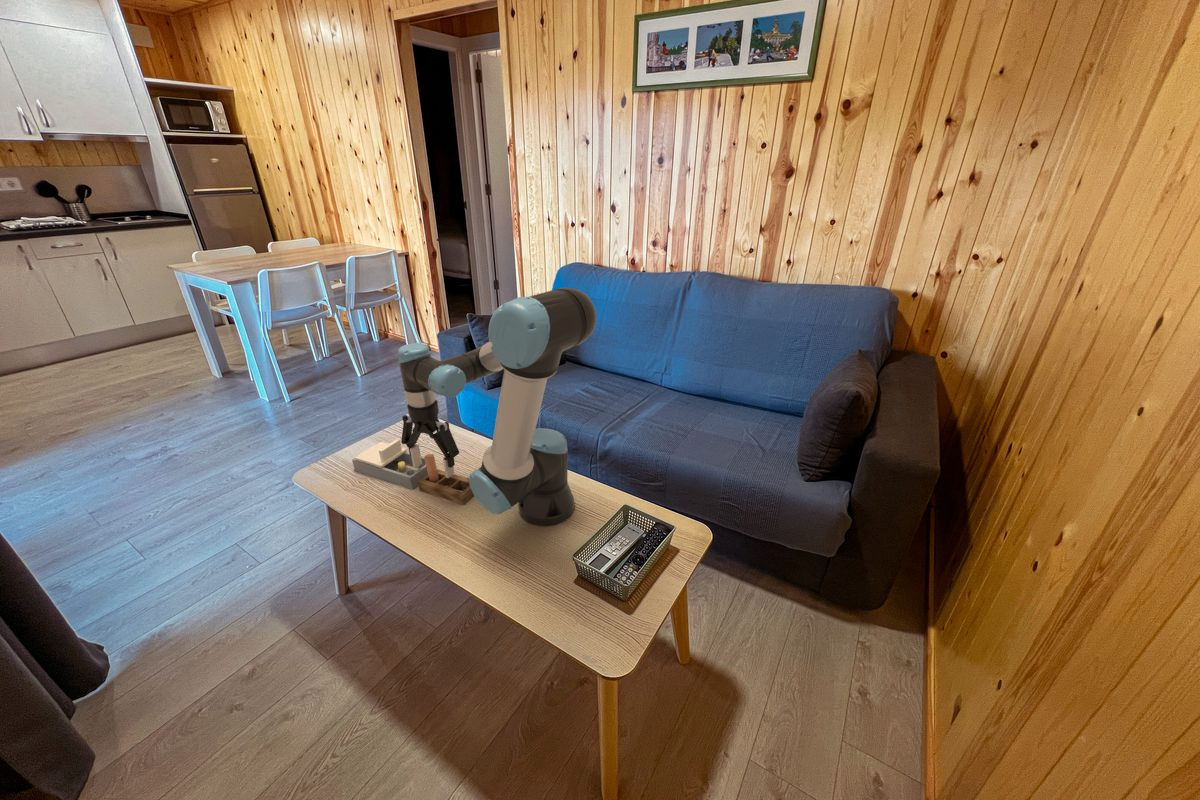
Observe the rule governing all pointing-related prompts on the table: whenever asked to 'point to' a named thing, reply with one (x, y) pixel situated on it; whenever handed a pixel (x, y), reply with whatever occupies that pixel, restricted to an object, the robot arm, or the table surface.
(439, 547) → the table surface
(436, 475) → the pin
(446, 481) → the wooden compartment rack
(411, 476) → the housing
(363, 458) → the lid
